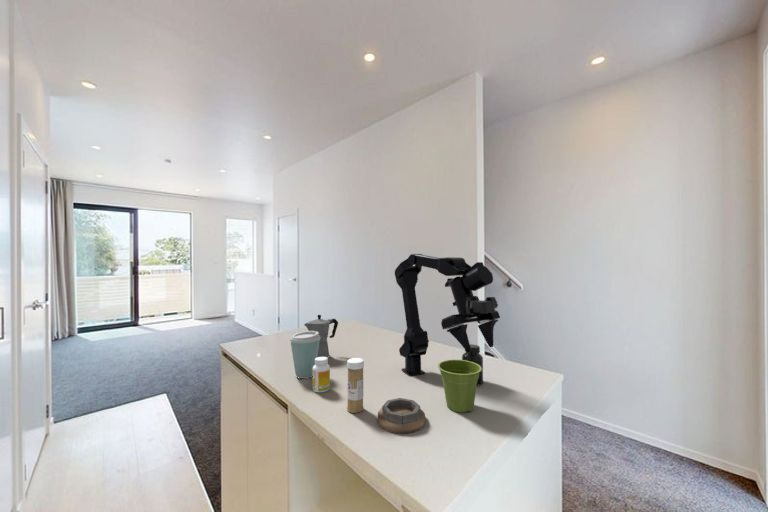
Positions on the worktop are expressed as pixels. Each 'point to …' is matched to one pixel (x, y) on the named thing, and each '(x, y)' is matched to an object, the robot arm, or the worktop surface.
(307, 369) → the disposable coffee cup
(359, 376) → the sprinkles bottle
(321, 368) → the supplement bottle
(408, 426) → the brown grey round base
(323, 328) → the coffeepot
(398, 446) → the worktop surface
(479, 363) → the supplement bottle
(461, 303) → the robot arm
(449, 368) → the plant pot
